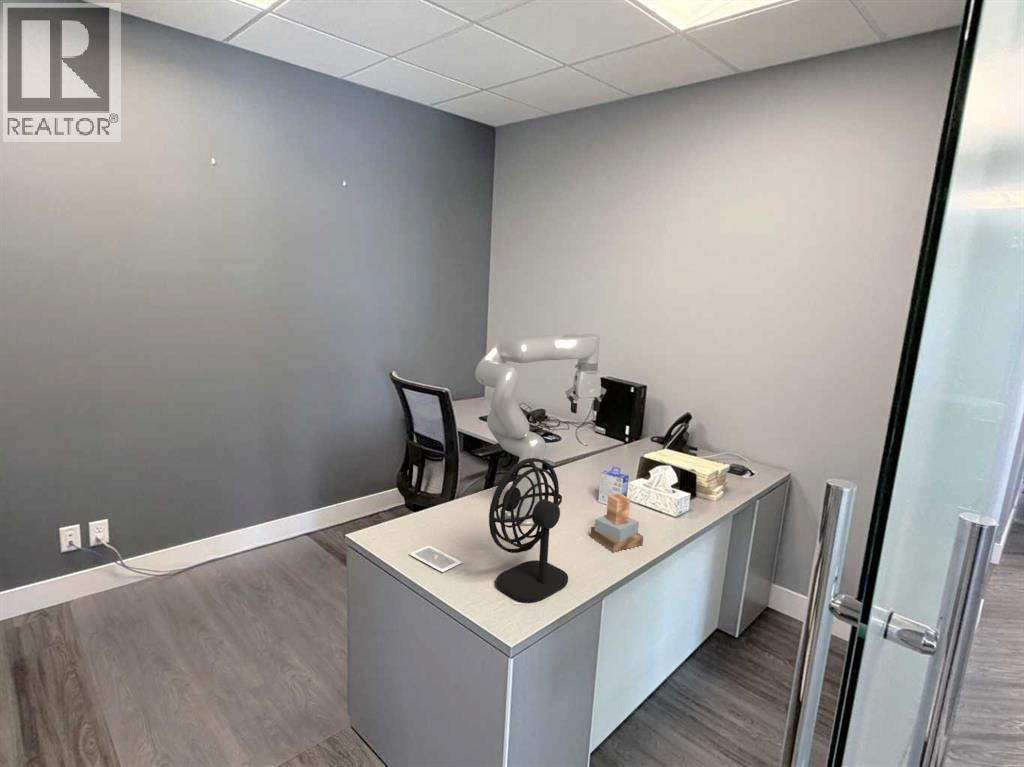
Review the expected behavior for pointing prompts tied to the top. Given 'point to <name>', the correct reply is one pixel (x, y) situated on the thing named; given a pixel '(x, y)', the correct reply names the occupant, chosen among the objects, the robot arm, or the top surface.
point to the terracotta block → (618, 509)
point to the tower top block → (616, 528)
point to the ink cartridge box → (612, 484)
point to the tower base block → (616, 545)
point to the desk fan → (528, 533)
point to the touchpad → (435, 558)
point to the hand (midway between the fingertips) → (584, 411)
